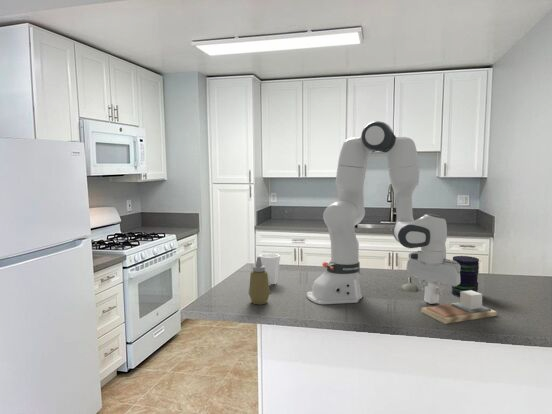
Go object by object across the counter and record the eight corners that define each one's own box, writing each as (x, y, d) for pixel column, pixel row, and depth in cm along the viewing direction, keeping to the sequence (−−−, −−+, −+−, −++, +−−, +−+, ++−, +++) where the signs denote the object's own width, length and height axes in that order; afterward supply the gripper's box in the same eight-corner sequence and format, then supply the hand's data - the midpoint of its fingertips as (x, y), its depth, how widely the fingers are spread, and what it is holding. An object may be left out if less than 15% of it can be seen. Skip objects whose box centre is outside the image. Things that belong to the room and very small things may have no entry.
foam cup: (284, 282, 184) (283, 254, 183) (273, 287, 176) (272, 258, 175) (266, 279, 189) (266, 252, 188) (255, 284, 181) (255, 256, 180)
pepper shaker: (430, 304, 151) (431, 279, 150) (423, 301, 155) (424, 277, 154) (439, 303, 152) (440, 279, 151) (432, 300, 156) (433, 276, 155)
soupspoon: (401, 293, 169) (417, 295, 167) (401, 286, 169) (418, 288, 167) (402, 278, 190) (416, 280, 188) (402, 271, 190) (417, 273, 188)
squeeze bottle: (254, 307, 151) (253, 260, 149) (245, 301, 158) (245, 256, 156) (273, 303, 154) (272, 257, 153) (264, 298, 162) (263, 254, 160)
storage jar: (447, 294, 164) (448, 258, 163) (456, 289, 171) (457, 254, 170) (473, 299, 157) (474, 262, 156) (481, 293, 164) (482, 258, 163)
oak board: (445, 323, 133) (445, 317, 133) (421, 311, 144) (421, 306, 144) (496, 315, 140) (496, 310, 140) (469, 304, 151) (469, 299, 151)
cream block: (470, 309, 141) (471, 295, 140) (459, 305, 145) (460, 291, 145) (481, 307, 142) (482, 294, 142) (470, 303, 147) (471, 290, 146)
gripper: (464, 260, 146) (462, 297, 147) (413, 251, 161) (412, 284, 163) (456, 263, 142) (454, 300, 143) (404, 253, 157) (403, 287, 159)
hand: (431, 292), depth 153 cm, fingers closed on pepper shaker, 5 cm apart
